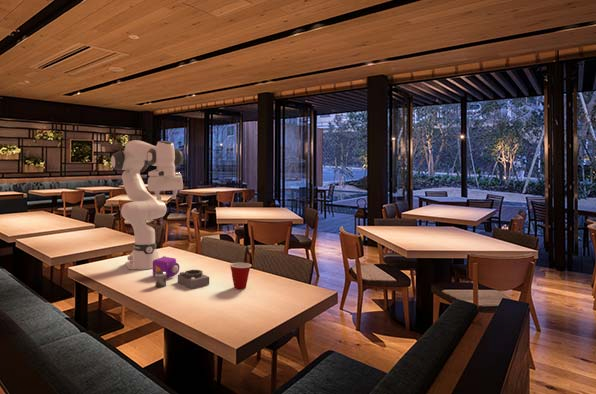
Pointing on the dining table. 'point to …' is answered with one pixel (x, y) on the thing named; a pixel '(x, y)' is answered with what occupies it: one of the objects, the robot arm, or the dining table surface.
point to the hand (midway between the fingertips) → (166, 199)
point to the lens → (160, 279)
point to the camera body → (193, 279)
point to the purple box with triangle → (166, 266)
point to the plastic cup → (240, 274)
